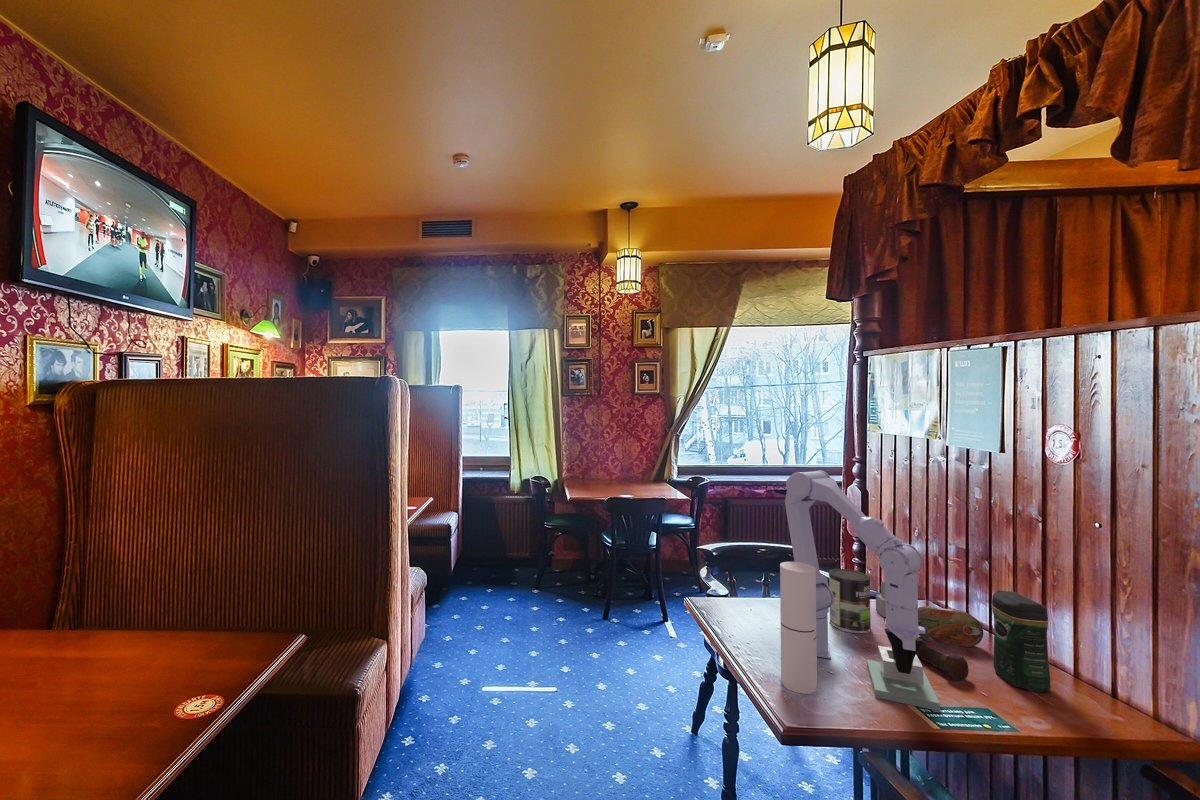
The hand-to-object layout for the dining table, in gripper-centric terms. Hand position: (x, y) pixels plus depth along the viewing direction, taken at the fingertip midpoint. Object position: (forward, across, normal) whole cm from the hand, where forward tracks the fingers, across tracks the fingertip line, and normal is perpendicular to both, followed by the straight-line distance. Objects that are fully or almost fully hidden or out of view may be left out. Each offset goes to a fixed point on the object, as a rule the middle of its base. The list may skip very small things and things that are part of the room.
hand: (902, 669), depth 95 cm
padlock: (+5, +44, -4) cm, 44 cm away
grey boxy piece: (+2, +3, 0) cm, 3 cm away
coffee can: (+5, +32, +7) cm, 33 cm away
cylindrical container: (+5, -5, +20) cm, 21 cm away
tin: (+5, +32, -15) cm, 36 cm away
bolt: (+5, +17, -8) cm, 20 cm away
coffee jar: (+5, +17, -25) cm, 31 cm away
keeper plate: (+5, +3, 0) cm, 6 cm away
